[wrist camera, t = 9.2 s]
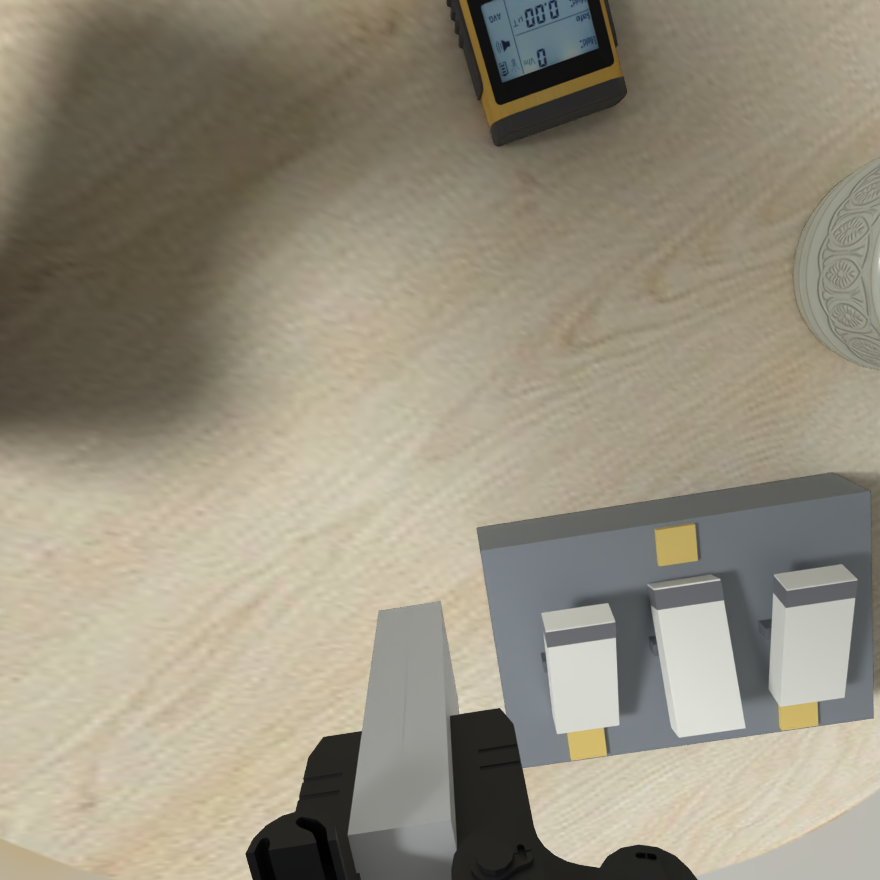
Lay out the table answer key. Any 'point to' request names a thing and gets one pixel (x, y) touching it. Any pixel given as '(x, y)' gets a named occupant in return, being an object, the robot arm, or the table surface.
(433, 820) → the robot arm
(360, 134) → the table surface
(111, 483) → the table surface
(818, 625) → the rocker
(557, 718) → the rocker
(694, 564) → the switch unit
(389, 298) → the table surface
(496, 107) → the electronic device
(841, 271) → the jar
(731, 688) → the rocker mid
